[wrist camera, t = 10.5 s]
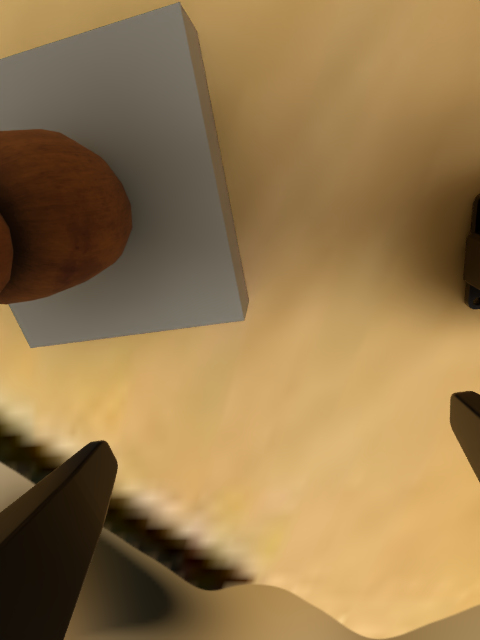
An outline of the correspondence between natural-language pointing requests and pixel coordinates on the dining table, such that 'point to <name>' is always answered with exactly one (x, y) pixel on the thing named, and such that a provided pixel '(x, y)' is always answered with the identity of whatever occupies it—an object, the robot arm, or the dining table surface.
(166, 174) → the plinth
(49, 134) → the wooden figurine
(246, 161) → the dining table surface
